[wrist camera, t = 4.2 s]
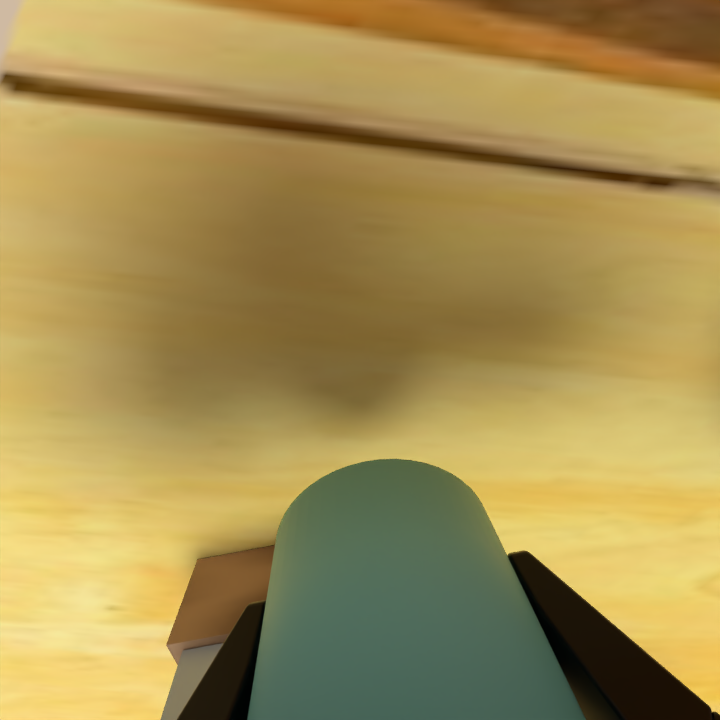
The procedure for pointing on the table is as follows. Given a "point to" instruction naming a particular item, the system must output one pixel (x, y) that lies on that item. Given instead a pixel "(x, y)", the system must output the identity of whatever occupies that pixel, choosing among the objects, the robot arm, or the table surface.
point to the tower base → (219, 597)
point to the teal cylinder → (399, 608)
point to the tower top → (188, 678)
